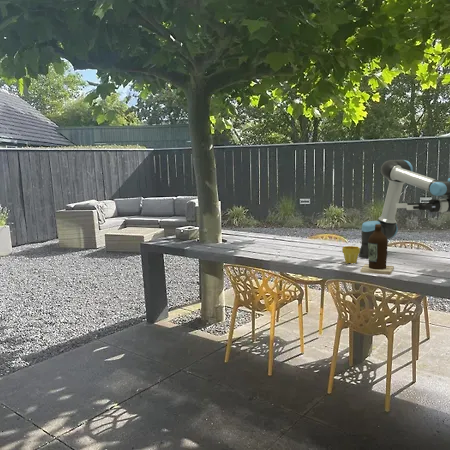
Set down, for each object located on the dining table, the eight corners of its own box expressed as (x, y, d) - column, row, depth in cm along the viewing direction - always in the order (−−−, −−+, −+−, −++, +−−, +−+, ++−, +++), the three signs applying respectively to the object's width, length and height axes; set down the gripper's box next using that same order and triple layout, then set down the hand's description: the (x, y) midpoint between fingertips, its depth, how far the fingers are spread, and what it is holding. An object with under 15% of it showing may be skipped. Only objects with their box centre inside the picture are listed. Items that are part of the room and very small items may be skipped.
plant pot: (349, 265, 262) (349, 249, 260) (338, 262, 271) (339, 246, 270) (363, 263, 266) (363, 247, 265) (352, 260, 275) (352, 245, 274)
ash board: (365, 266, 257) (365, 264, 256) (393, 268, 249) (393, 266, 249) (360, 272, 243) (360, 269, 242) (390, 274, 235) (390, 271, 235)
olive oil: (377, 265, 253) (378, 223, 250) (391, 268, 243) (392, 224, 240) (363, 267, 249) (364, 224, 246) (377, 270, 239) (377, 226, 236)
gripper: (449, 214, 235) (411, 215, 234) (426, 210, 259) (391, 211, 258) (450, 200, 234) (411, 201, 233) (426, 197, 258) (392, 198, 258)
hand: (401, 206), depth 246 cm, fingers open, 13 cm apart
